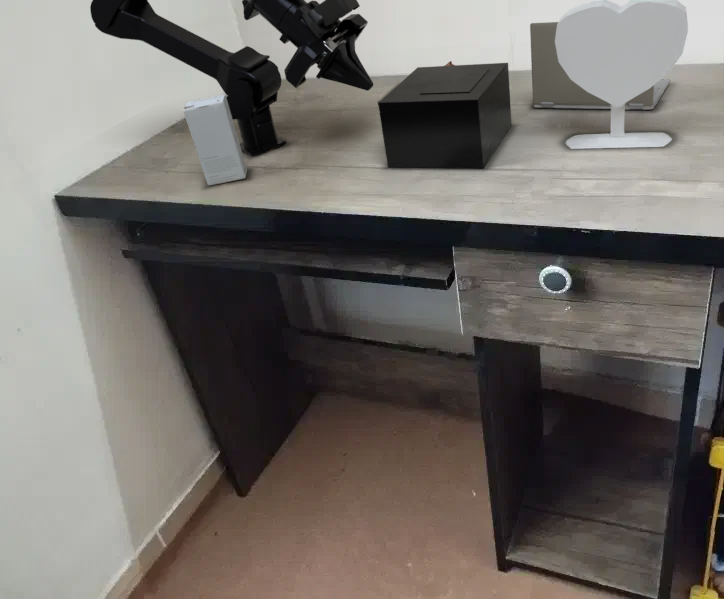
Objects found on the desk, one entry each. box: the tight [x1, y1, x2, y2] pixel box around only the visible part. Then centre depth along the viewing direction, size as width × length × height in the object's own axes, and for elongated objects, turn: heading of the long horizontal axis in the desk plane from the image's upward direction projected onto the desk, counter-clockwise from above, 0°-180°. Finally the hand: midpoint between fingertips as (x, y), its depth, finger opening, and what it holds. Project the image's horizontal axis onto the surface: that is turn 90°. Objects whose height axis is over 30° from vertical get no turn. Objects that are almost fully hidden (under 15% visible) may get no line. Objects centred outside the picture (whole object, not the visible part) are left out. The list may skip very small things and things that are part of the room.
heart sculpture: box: [555, 0, 689, 150], centre depth 93 cm, size 16×5×18 cm, turn 70°
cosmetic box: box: [182, 94, 248, 186], centre depth 107 cm, size 6×4×12 cm
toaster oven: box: [377, 62, 512, 169], centre depth 104 cm, size 15×16×10 cm
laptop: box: [529, 21, 671, 111], centre depth 110 cm, size 18×12×13 cm
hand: (371, 87), depth 106 cm, fingers closed
